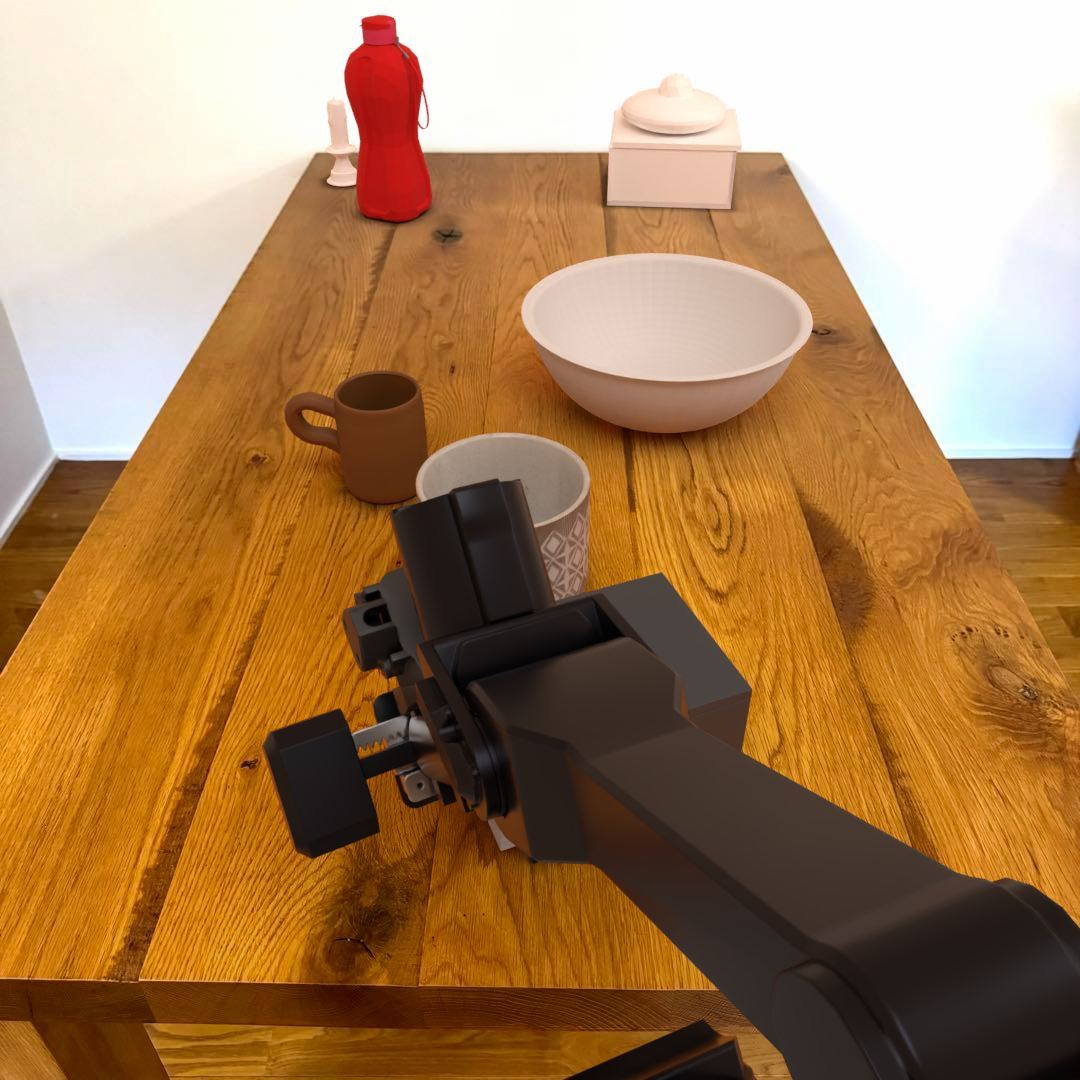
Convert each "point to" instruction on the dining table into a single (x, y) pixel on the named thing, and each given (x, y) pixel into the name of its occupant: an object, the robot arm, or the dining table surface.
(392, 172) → the water bottle
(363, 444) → the mug
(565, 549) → the planter
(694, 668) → the dark grey cabinet
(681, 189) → the pink lidded box
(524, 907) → the dining table surface
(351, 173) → the candle
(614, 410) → the bowl
